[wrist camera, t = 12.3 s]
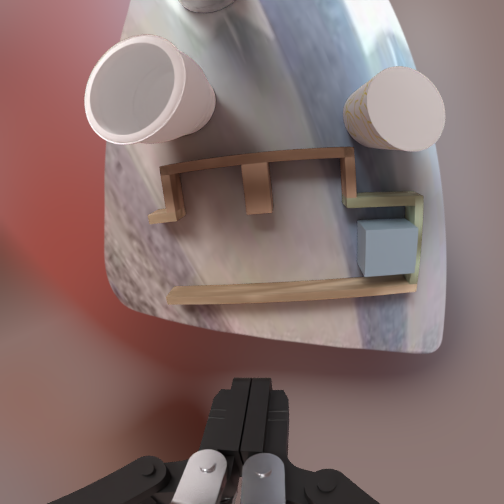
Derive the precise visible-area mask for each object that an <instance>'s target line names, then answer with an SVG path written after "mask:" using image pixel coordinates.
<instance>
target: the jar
mask: <svg viewBox="0 0 504 504" xmlns="http://www.w3.org/2000/svg"><path fill="white" fill-rule="evenodd" d="M215 103H216V99H215V93H214V90H213V88H212V87H211V85H210V84H209V82H208V80H207V78H206V76H205V74H204V72H203V71H202V69H201V68H200V66H199V65H198V64H197V63H196V62H195V61H194V60H193V59H192V58H191V57H189V56H188V55H186V54H185V53H183V52H181V51H179V50H178V49H177V48H176V47H175V46H174V45H173V44H172V43H171V42H170V41H168V40H167V39H165V38H163V37H160V36H157V35H150V34H143V35H136V36H132V37H129V38H127V39H125V40H122V41H121V42H119V43H117V44H116V45H115V46H113V47H112V48H110V49H109V50H108V51H107V52H106V53H105V54H104V55H103V56H102V57H101V58H100V60H99V61H98V62H97V64H96V65H95V67H94V69H93V70H92V72H91V74H90V77H89V79H88V82H87V86H86V90H85V112H86V116H87V119H88V121H89V123H90V125H91V127H92V128H93V130H94V131H95V132H96V133H97V134H98V135H99V136H100V137H101V138H103V139H105V140H106V141H109V142H112V143H116V144H124V145H128V144H135V143H146V144H154V143H163V142H167V141H171V140H174V139H176V138H178V137H181V136H183V135H187V134H191V133H194V132H196V131H198V130H199V129H201V128H202V127H203V126H204V125H206V123H207V122H208V121H209V120H210V118H211V116H212V114H213V112H214V109H215Z"/></svg>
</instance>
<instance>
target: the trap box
mask: <svg viewBox="0 0 504 504" xmlns="http://www.w3.org/2000/svg"><path fill="white" fill-rule="evenodd" d="M321 158H340V169H341V186H342V203H343V204H344V205H345V206H346V207H347V208H361V207H386V206H405V219H407V220H408V221H410V222H411V223H412V224H414V225H415V226H416V227H418V243H417V255H416V265H415V273H409V274H397V275H385V276H372V277H356V278H342V279H327V280H311V281H294V282H276V283H255V284H232V285H204V286H174V287H173V289H172V290H171V291H170V293H169V294H168V295H167V297H166V299H167V303H168V304H239V303H268V302H290V301H308V300H324V299H339V298H352V297H364V296H376V295H387V294H397V293H407V292H416V289H417V281H418V273H419V264H420V254H421V242H422V226H423V196H422V195H420V194H418V193H416V192H413V191H401V192H364V193H356V172H355V156H354V147H328V148H308V149H293V150H280V151H268V152H258V153H248V154H239V155H231V156H223V157H215V158H208V159H201V160H195V161H188V162H182V163H176V164H170V165H165V166H161V167H159V168H160V174H161V181H162V187H163V194H164V200H165V206H166V209H158V210H157V211H155V212H153V213H151V214H149V215H148V219H149V224H156V223H165V222H174V221H178V220H179V219H181V218H182V217H183V216H185V215H186V213H185V207H184V200H183V194H182V187H181V181H180V174H179V173H183V172H190V171H197V170H204V169H211V168H219V167H227V166H236V165H241V169H242V178H243V186H244V195H245V204H246V212H247V215H250V214H262V213H272V210H273V197H272V187H271V177H270V168H269V162H276V161H289V160H304V159H321Z"/></svg>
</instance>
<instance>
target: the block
mask: <svg viewBox="0 0 504 504" xmlns="http://www.w3.org/2000/svg"><path fill="white" fill-rule="evenodd" d="M417 243H418V227H416V226H415V225H414V224H412V223H411V222H410V221H408V220H407V219H405V218H394V219H370V220H357V263H358V265H359V267H360V269H361V271H362V273H363V275H364V277H372V276H385V275H397V274H409V273H415V265H416V255H417Z"/></svg>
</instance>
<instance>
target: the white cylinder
mask: <svg viewBox="0 0 504 504" xmlns="http://www.w3.org/2000/svg"><path fill="white" fill-rule="evenodd" d="M343 120H344V124H345V127H346V129H347V131H348V133H349V134H350V135H351V137H352V138H353V139H354V140H355V141H357V142H358V143H360V144H361V145H363V146H366V147H369V148H375V149H389V150H401V151H412V152H414V151H421V150H424V149H427V148H429V147H430V146H432V145H433V144H434V143H435V142H436V141H437V140H438V139H439V137H440V135H441V133H442V131H443V128H444V124H445V108H444V104H443V101H442V98H441V96H440V94H439V92H438V90H437V89H436V87H435V86H434V84H433V83H432V82H431V81H430V80H429V79H428V78H427V77H426V76H424V75H423V74H422V73H420V72H418V71H416V70H414V69H411V68H408V67H402V66H396V67H390V68H387V69H385V70H383V71H381V72H380V73H378V74H377V75H376V76H374V77H373V78H372V79H371V80H369V81H368V82H367V83H365V84H364V85H363V86H361V87H360V88H359V89H358V90H356V91H355V92H354V93H353V94H351V95H350V96H349V98H348V99H347V101H346V103H345V105H344V109H343Z"/></svg>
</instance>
